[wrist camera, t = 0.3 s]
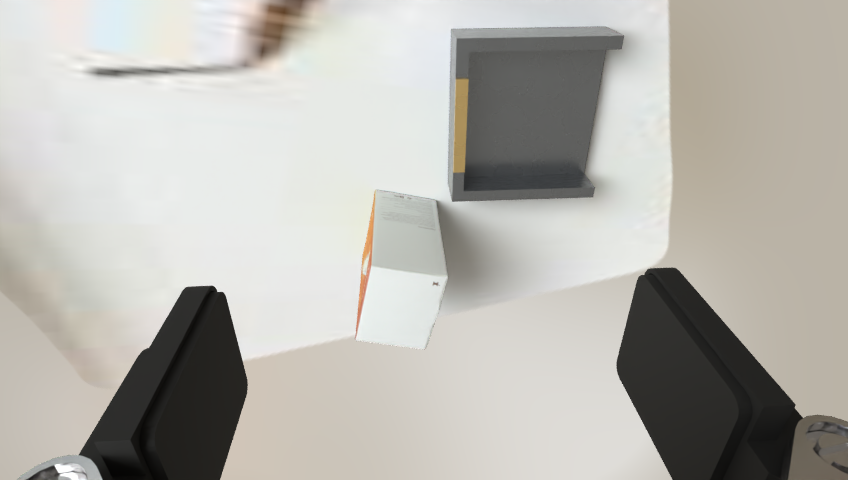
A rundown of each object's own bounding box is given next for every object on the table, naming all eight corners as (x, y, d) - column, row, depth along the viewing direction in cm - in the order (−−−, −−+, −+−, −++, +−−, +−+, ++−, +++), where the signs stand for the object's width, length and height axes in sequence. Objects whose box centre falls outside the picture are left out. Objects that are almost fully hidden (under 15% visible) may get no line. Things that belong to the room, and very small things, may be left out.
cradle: (451, 28, 42) (457, 39, 38) (605, 26, 43) (625, 36, 39) (447, 182, 49) (452, 203, 46) (579, 178, 50) (593, 198, 46)
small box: (374, 187, 49) (369, 264, 38) (437, 199, 50) (451, 276, 39) (361, 255, 54) (353, 342, 42) (419, 264, 55) (427, 351, 44)
